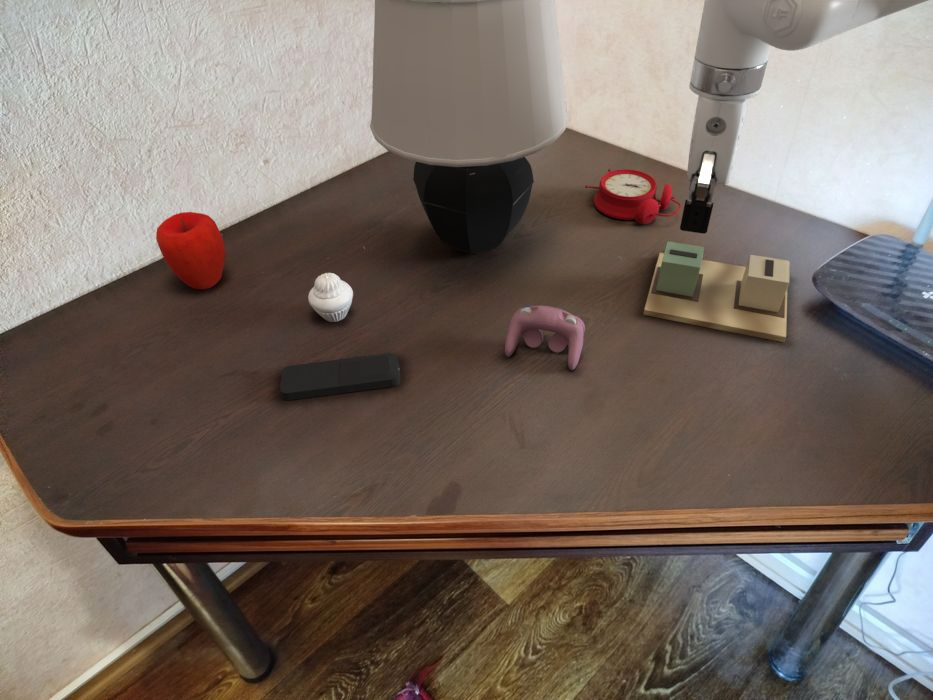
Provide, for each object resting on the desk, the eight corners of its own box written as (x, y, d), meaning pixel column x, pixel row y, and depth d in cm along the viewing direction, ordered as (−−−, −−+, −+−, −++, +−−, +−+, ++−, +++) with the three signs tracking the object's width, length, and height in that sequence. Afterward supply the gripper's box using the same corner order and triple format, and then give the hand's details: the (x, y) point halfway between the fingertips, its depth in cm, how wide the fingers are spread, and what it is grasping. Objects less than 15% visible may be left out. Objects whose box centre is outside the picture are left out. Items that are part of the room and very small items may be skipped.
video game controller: (581, 362, 84) (590, 311, 81) (576, 373, 80) (585, 319, 77) (509, 347, 86) (516, 297, 84) (500, 357, 82) (507, 305, 80)
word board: (785, 279, 92) (788, 273, 91) (783, 342, 83) (786, 336, 82) (658, 257, 97) (659, 251, 96) (643, 315, 88) (644, 308, 87)
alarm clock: (611, 161, 111) (693, 168, 102) (614, 195, 115) (693, 204, 105) (577, 186, 106) (660, 195, 96) (581, 220, 110) (662, 233, 100)
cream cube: (778, 290, 88) (790, 260, 85) (777, 312, 85) (789, 282, 82) (740, 283, 90) (750, 253, 86) (738, 305, 87) (748, 275, 83)
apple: (248, 272, 99) (226, 212, 91) (207, 305, 93) (180, 243, 86) (206, 258, 102) (182, 198, 95) (164, 289, 97) (135, 228, 89)
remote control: (281, 404, 79) (401, 385, 80) (277, 394, 78) (399, 375, 79) (284, 376, 83) (399, 358, 83) (280, 366, 82) (396, 348, 82)
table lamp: (357, 241, 104) (303, -41, 76) (485, 184, 115) (478, -79, 87) (459, 324, 88) (438, 7, 60) (596, 248, 99) (630, -48, 72)
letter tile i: (696, 275, 92) (704, 246, 88) (692, 297, 88) (700, 267, 85) (661, 269, 93) (667, 240, 89) (656, 290, 90) (662, 260, 86)
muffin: (354, 328, 88) (345, 288, 83) (310, 330, 88) (299, 290, 84) (359, 299, 93) (351, 260, 88) (317, 301, 93) (306, 262, 88)
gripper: (760, 109, 63) (722, 252, 75) (766, 50, 75) (732, 182, 87) (682, 102, 66) (657, 242, 77) (699, 46, 77) (676, 175, 89)
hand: (697, 210), depth 82 cm, fingers open, 9 cm apart
